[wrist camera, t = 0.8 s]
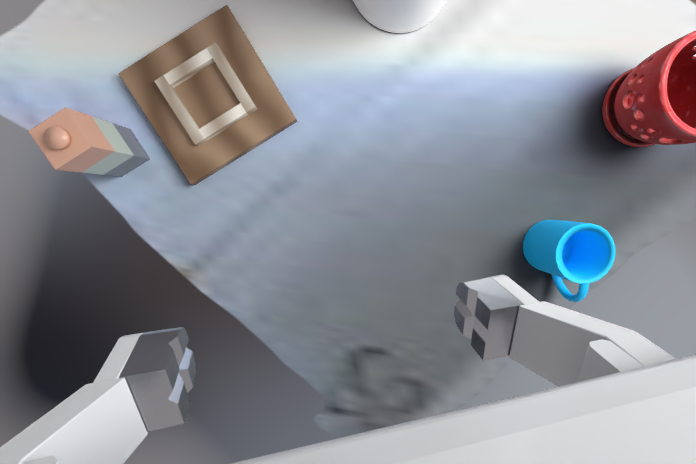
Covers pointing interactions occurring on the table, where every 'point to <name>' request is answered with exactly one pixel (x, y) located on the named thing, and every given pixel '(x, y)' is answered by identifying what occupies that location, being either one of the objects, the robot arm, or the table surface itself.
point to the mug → (570, 253)
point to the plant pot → (656, 98)
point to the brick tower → (88, 144)
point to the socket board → (208, 96)
